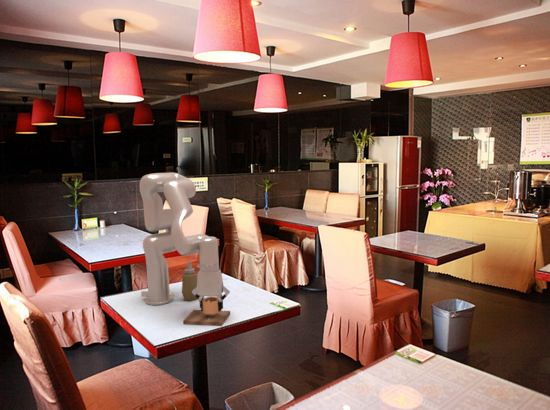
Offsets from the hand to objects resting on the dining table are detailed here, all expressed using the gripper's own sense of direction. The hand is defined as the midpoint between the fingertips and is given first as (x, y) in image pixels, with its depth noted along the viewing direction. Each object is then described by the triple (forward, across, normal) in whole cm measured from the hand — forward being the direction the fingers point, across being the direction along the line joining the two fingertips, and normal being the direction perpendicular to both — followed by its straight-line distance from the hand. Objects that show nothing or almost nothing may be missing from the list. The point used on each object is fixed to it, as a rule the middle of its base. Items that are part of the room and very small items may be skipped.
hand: (211, 309), depth 169 cm
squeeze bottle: (+4, -18, +23) cm, 30 cm away
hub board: (+4, -2, 0) cm, 5 cm away
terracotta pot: (+1, 0, 0) cm, 1 cm away
